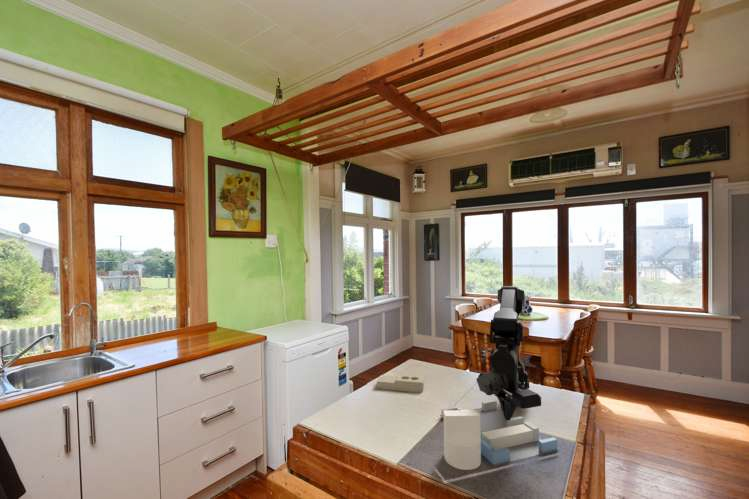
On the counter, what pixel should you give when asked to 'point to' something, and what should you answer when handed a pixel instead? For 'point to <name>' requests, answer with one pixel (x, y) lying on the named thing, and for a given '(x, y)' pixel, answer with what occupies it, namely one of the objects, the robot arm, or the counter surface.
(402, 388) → the electrical outlet
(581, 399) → the counter surface
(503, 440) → the long cream plank
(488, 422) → the board
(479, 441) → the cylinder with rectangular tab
